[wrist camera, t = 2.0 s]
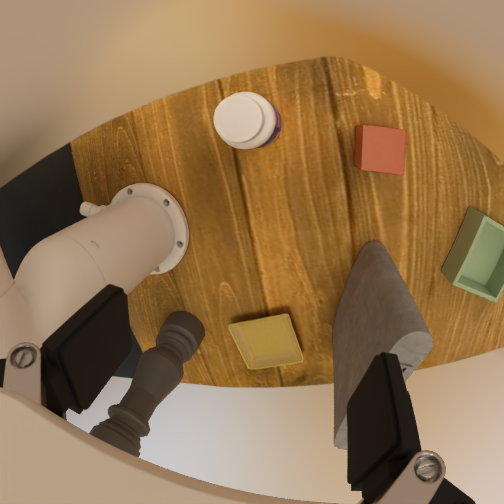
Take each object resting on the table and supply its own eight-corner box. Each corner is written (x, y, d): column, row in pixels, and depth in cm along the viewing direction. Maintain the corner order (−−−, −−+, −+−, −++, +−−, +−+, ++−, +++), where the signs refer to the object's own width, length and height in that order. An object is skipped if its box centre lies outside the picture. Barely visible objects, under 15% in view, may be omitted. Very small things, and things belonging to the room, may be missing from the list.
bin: (440, 270, 32) (451, 284, 29) (469, 205, 28) (484, 214, 25) (484, 288, 32) (496, 303, 28) (511, 231, 28) (527, 241, 24)
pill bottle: (292, 125, 30) (285, 121, 21) (255, 156, 32) (234, 165, 23) (259, 90, 29) (239, 73, 20) (224, 121, 31) (191, 118, 22)
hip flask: (350, 346, 39) (358, 470, 21) (323, 341, 39) (319, 467, 21) (388, 243, 32) (451, 357, 14) (357, 236, 33) (399, 351, 15)
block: (353, 165, 30) (360, 170, 26) (355, 125, 28) (362, 124, 24) (392, 169, 29) (403, 175, 25) (394, 130, 28) (406, 130, 23)
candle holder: (189, 306, 41) (97, 447, 19) (212, 338, 43) (142, 482, 20) (160, 317, 43) (68, 441, 21) (182, 347, 45) (109, 474, 22)
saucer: (229, 316, 41) (226, 325, 39) (289, 304, 38) (288, 313, 36) (250, 360, 43) (248, 370, 41) (305, 352, 41) (305, 362, 39)
